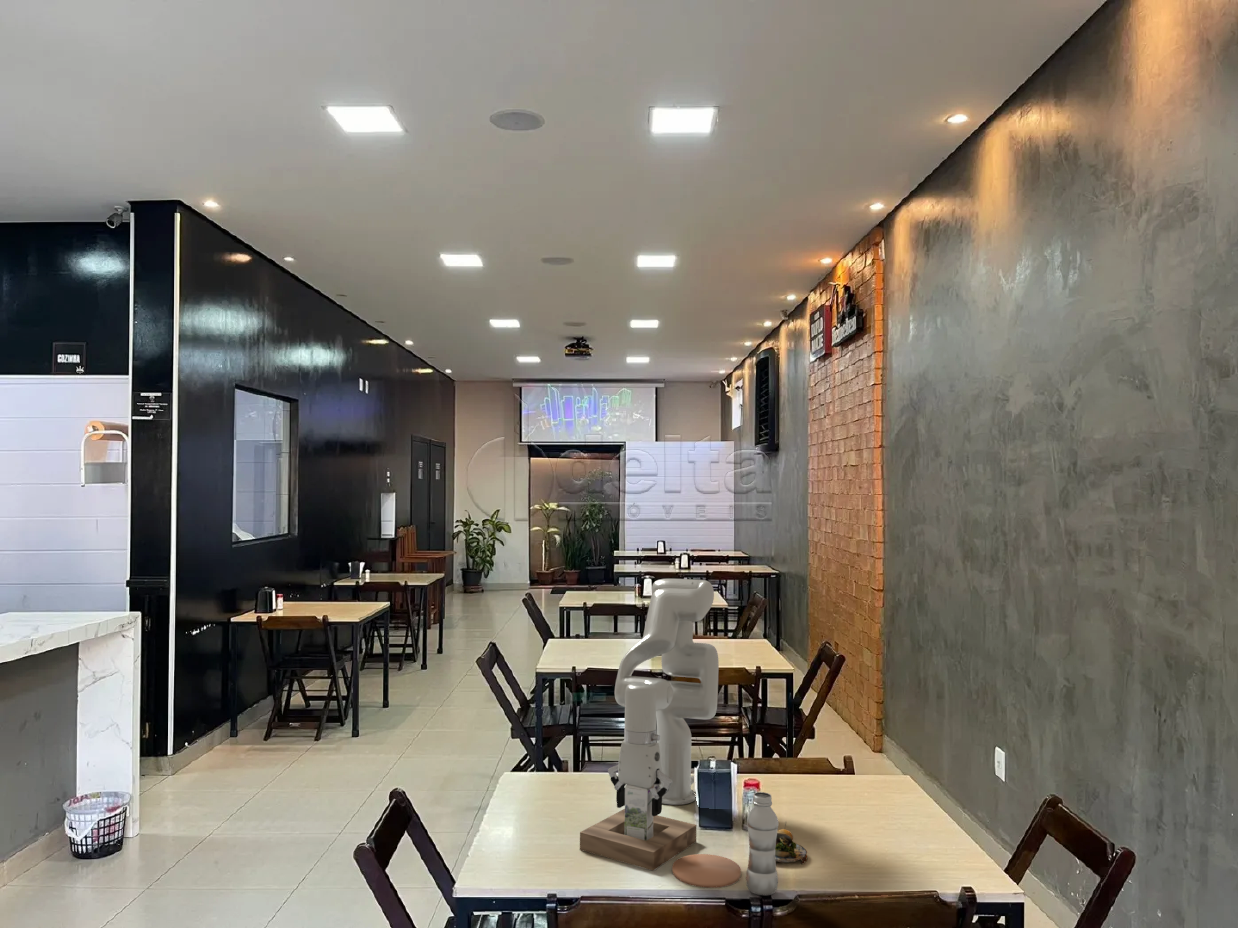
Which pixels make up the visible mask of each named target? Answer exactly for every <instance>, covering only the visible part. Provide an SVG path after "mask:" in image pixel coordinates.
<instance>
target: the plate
mask: <svg viewBox="0 0 1238 928" xmlns="http://www.w3.org/2000/svg"><path fill="white" fill-rule="evenodd" d="M671 872H672V875H673V877H674V878H675V879H677V880H678V881H679V882H681V883H684V884H685V885H689V886H692V887H698V888H703V889H705V888H707V889H709V888H710V889H714V888H715V889H716V888H718V889H719V888H723V887H724V888H725V887H729V886H731V885H734V884H736V883H737V882H738V881H740V879H741V877H742V869H741V866H740V865H739V864H738V863H737V862H736V861H734V860H732V859H731V858H727V857H724V856H723V855H722V856H721V855H716V854H708V853H698V854H697V853H695V854H688V855H684V856H681V857H679V858H678V859H676V860H675V861H674V862H673V863H672V867H671Z"/></svg>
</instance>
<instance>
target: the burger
mask: <svg viewBox="0 0 1238 928" xmlns="http://www.w3.org/2000/svg"><path fill="white" fill-rule="evenodd" d="M786 824H787V822H785V824H784V827H786V826H787V825H786ZM807 858H808V851H807V850H806V848H804V846H802V845H801V844H798V843H796V842H794V836H793V833H792V832H791V831H790V830H788V829H786V828H782V829H781V828H780V829H778V831H777V837H776V848H775V859H776V862H779V863H795V862H797V861H800V860H801V862H800V864H801V865H804V864H805V862H807Z"/></svg>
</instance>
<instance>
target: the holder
mask: <svg viewBox="0 0 1238 928" xmlns="http://www.w3.org/2000/svg"><path fill="white" fill-rule="evenodd" d="M624 832H625V808H623V809H622V810H620V811H618V812H616V813H614V814H612V815H610V816H608V817H607V818H604V819H603V820H600V821H599V822H597V823H595V824H593V825H590V827H587V828H585V829H583V830H582V831H580V833H579V850H580V851H581V852H582V851H583V852H587V853H588V854H589V853H590V854H593V855H596V856H600V857H604V858H608V859H611V860H614V861H618V862H621V863H625V864H627V865H628V864H629V865H632V866H635V867H638V868H642V869H645V870H649V871H652V872H653V871H655V870H657V869H658V868H660V867H661V866H662V865H664V864H666V863H667V862H669V861H670V860H672V859H673V858H675V857H676V856H678V855H679V854H680V853H681V854H682V852H684V851H685V850H687V849H688V848H689V847H691V846H693V845H694V844H695V843H697V824H694V823H691V822H687V821H682V820H677V819H675V818H674V819H673V818H669V817H665V816H662V815H659V814H658V815H657V816H653V837H652V838H650V839H648V840H647V841H646V840H642V839H638V838H634V837H631V836H627V835H624Z"/></svg>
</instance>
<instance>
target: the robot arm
mask: <svg viewBox="0 0 1238 928" xmlns="http://www.w3.org/2000/svg"><path fill="white" fill-rule="evenodd" d="M651 594H652V595H651V596H650V600H649V606H648V609H647V614H646V620H645V625H644V630H643V636H642V638H641V639H640V640H639V641H638V642H636V643H634V644H633V646H632V647H631V648H630V649H628V651H627V652H626V653H625V655H624V656H623V658H622V659H621V661H620V663H619V666H618V670H617V675H616V679H615V686H614V698H615V701H616V703H617V704H618V705H619V706H621V707H624V728H623V729H624V735H623V736H624V738H623V739H624V740H622V742H621V745H620V749H619V757H618V764H615V765H614V766H611V767H609V768H608V769H607V772H608V774H609V775H608V776H609V778H610V781H611V783H612V786H614V787H613V788H614V790H615V791H616V800H615V801H616V808H617V809H621V808H622V807H625V786H626V785H627V784H628V785H632V786H636V787H640V788H645V789H650V791H651V793H652V794H653V796H654V798H653V799H652V816H657V815H658V816H659V815H660V814H661V813H662V810H663V804H665V805H670V806H671V805H672V806H673V805H674V806H677V805H678V806H679V805H686V804H690V803H693V802H695V801H696V800H695V794H694V792H695V790H694V789H692V787H691V786H692V785H693V784H694V776H695V775H692V733H691V729H690V727H689V725H688V723H687V722H686V720H685V719H695V720H711V719H713V718H714V717H715V715H716V713H717V710H718V698H719V697H718V695H719V693H718V692H719V670H720V669H719V668H720V667H719V662H720V660H719V653H718V651H717V649H716V647H715V646H714V645H713V644H710V643H706V642H705V643H704V642H703V643H702V642H694V641H693V640H694V639H693V636H694V633H693V631H694V623H693V622H700V621H702V620H703V619H704V618H705V616H706V615H707V614H708V612H709V611H710V609H711V608H712V605H713V603H714V599H715V591H714V587H713V585H712V583H711V582H710V581H708V580H705V579H691V578H690V579H689V578H661V579H657V580H656V581H654V582H653V583H652V586H651ZM659 656H661V659H660V660H661V662H660V663H661V668H662V672H663V673H664V674H666V675H668V676H673V677H681V678H684V677H685V678H695V679H699V681H700V683H699V682H687V681H679V680H678V681H677V680H667V679H664V678H660V677H658V678H657V677H649V676H648V677H647V676H636V675H632V674H633V673H634V671H635V669H636V668H637V667H638V666H640V665H641V664H643V663H644V662H646V661H648V660H651V659H654V658H656V657H659ZM694 800H695V801H694Z"/></svg>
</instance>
